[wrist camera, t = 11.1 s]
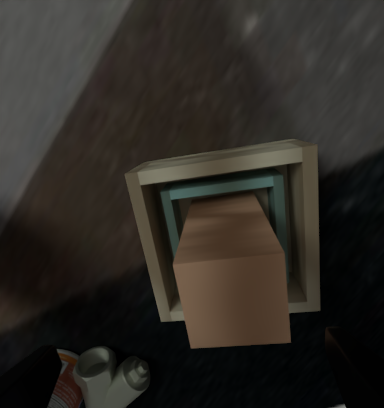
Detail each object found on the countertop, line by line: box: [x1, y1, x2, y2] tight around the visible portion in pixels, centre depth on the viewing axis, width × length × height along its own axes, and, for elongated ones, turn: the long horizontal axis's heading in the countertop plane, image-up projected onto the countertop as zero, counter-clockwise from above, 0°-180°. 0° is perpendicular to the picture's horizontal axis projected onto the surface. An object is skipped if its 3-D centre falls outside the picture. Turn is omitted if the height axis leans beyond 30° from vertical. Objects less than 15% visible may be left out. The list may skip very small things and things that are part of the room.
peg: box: [173, 191, 291, 348], centre depth 15 cm, size 4×4×9 cm
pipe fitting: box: [72, 346, 150, 408], centre depth 25 cm, size 8×4×7 cm
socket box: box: [125, 139, 320, 322], centre depth 18 cm, size 11×11×4 cm
